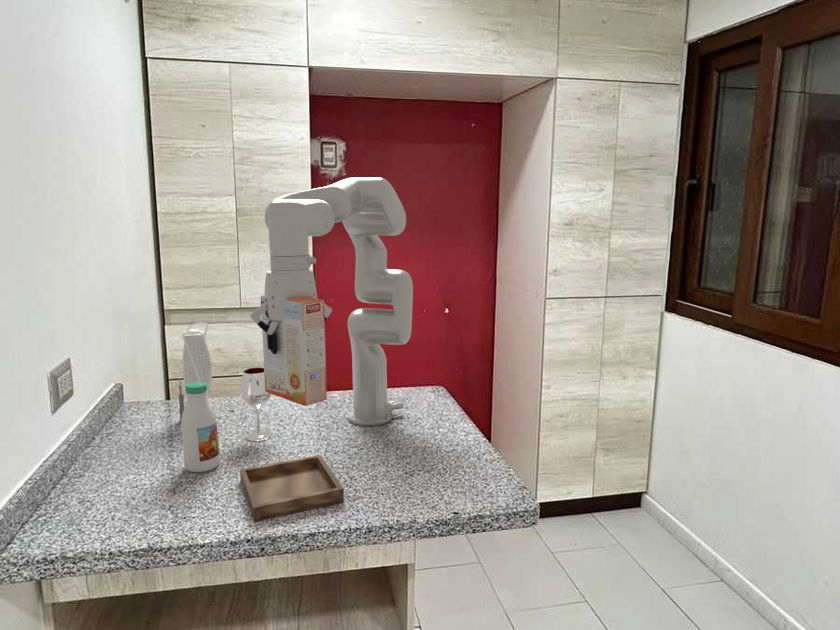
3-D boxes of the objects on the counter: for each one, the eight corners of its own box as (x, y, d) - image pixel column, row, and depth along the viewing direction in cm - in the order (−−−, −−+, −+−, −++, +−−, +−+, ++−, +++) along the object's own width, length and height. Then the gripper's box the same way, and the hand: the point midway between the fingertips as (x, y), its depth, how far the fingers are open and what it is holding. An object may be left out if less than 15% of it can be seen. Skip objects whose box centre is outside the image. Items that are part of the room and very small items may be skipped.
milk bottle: (186, 476, 133) (179, 391, 129) (183, 463, 140) (176, 382, 136) (222, 469, 137) (216, 386, 133) (217, 456, 143) (211, 377, 139)
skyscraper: (205, 413, 172) (197, 319, 167) (222, 419, 168) (215, 323, 162) (178, 422, 166) (170, 325, 160) (195, 429, 161) (187, 328, 156)
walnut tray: (320, 466, 138) (320, 454, 137) (343, 502, 122) (343, 488, 121) (240, 482, 130) (240, 469, 130) (254, 522, 114) (253, 507, 114)
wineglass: (279, 431, 159) (276, 366, 155) (268, 443, 151) (264, 375, 147) (249, 430, 159) (245, 365, 156) (237, 442, 151) (233, 374, 148)
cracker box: (328, 400, 120) (325, 298, 116) (304, 407, 116) (300, 302, 112) (288, 385, 129) (283, 291, 125) (264, 392, 125) (258, 294, 121)
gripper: (326, 260, 124) (329, 342, 128) (241, 264, 117) (246, 350, 120) (337, 263, 118) (340, 349, 121) (248, 268, 110) (253, 359, 114)
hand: (293, 349), depth 121 cm, fingers closed on cracker box, 7 cm apart
